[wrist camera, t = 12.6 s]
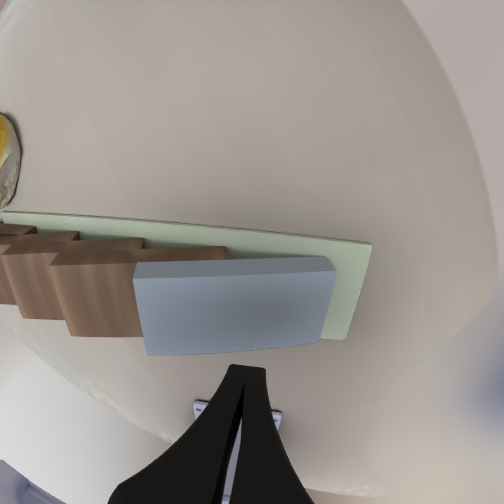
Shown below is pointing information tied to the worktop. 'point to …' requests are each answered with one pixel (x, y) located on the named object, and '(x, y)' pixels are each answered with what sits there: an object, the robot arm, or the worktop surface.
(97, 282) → the domino
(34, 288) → the domino
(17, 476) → the robot arm
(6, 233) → the domino
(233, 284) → the domino
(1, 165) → the bread roll
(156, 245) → the mat
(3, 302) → the domino
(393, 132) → the worktop surface
